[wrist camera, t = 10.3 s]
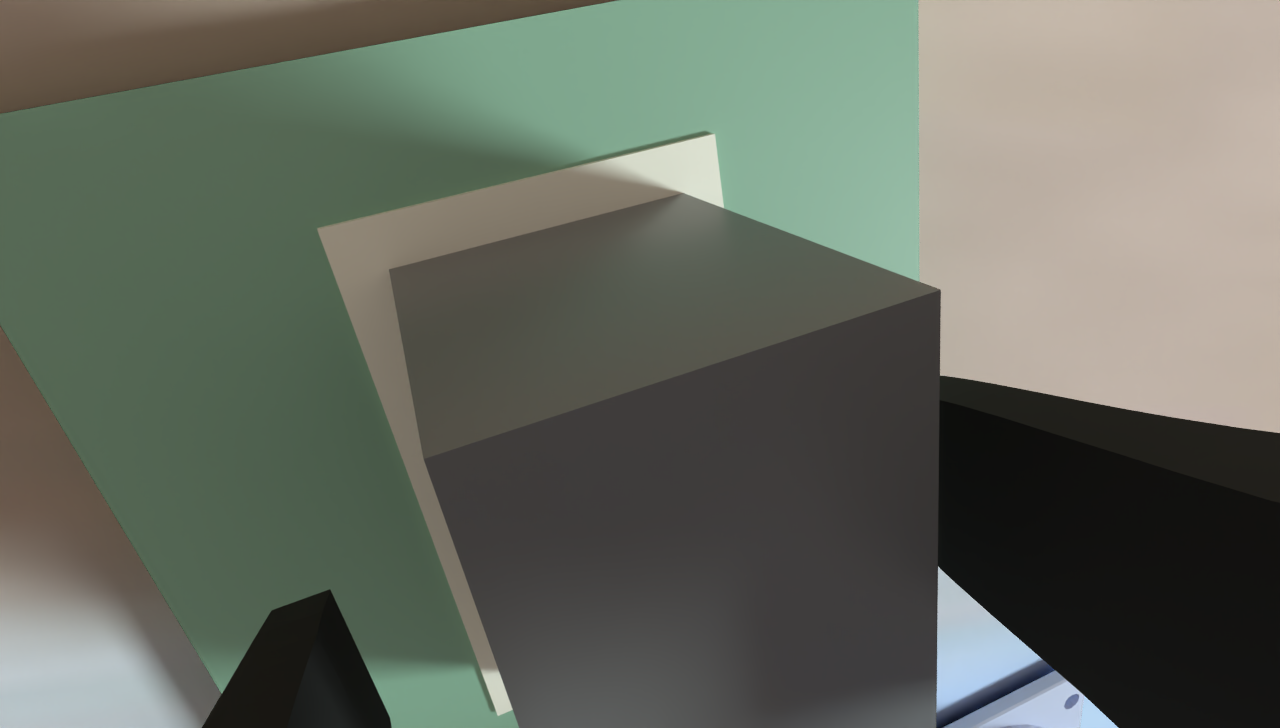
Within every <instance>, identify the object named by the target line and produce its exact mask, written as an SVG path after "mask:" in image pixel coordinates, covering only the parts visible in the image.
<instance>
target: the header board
mask: <svg viewBox="0 0 1280 728" xmlns="http://www.w3.org/2000/svg"><path fill="white" fill-rule="evenodd" d="M681 193H685V194H687V195H690V196H693V197H695V198H698V199H700V200H703V201H706V202H708V203H711V204H714V205H716V206H719V207H722V208H724V209H727V210H730V211H732V212H735V213H738V214H740V215H743V216H746V217H748V218H751V219H754V220H756V221H759V222H762V223H764V224H767V225H770V226H772V227H775V228H778V229H780V230H783V231H786V232H788V233H791V234H794V235H796V236H799V237H802V238H804V239H807V240H809V241H812V242H815V243H817V244H820V245H823V246H825V247H828V248H831V249H833V250H836V251H839V252H841V253H844V254H847V255H849V256H852V257H855V258H857V259H860V260H863V261H865V262H868V263H871V264H873V265H876V266H879V267H881V268H884V269H887V270H889V271H892V272H895V273H897V274H900V275H903V276H905V277H908V278H911V279H913V280H916V281H918V282H919V61H918V0H618V1H612V2H607V3H601V4H596V5H591V6H585V7H580V8H574V9H569V10H563V11H558V12H552V13H547V14H541V15H536V16H531V17H525V18H520V19H514V20H509V21H503V22H498V23H492V24H487V25H482V26H476V27H471V28H465V29H460V30H454V31H449V32H443V33H438V34H432V35H427V36H422V37H416V38H411V39H405V40H400V41H394V42H389V43H383V44H378V45H373V46H367V47H362V48H356V49H351V50H345V51H340V52H334V53H329V54H323V55H318V56H313V57H307V58H302V59H296V60H291V61H285V62H280V63H274V64H269V65H264V66H258V67H253V68H247V69H242V70H236V71H231V72H225V73H220V74H214V75H209V76H204V77H198V78H193V79H187V80H182V81H176V82H171V83H165V84H160V85H155V86H149V87H144V88H138V89H133V90H127V91H122V92H116V93H111V94H105V95H100V96H95V97H89V98H84V99H78V100H73V101H67V102H62V103H56V104H51V105H45V106H40V107H35V108H29V109H24V110H18V111H13V112H7V113H2V114H0V326H1V327H2V329H3V331H4V332H5V334H6V336H7V337H8V339H9V341H10V342H11V344H12V346H13V347H14V349H15V351H16V352H17V354H18V356H19V357H20V359H21V361H22V362H23V364H24V366H25V367H26V369H27V371H28V372H29V374H30V376H31V377H32V379H33V381H34V382H35V384H36V386H37V387H38V389H39V391H40V392H41V394H42V396H43V397H44V399H45V401H46V402H47V404H48V406H49V407H50V409H51V411H52V412H53V414H54V416H55V417H56V419H57V421H58V422H59V424H60V426H61V427H62V429H63V431H64V432H65V434H66V436H67V437H68V439H69V441H70V442H71V444H72V446H73V447H74V449H75V451H76V452H77V454H78V456H79V457H80V459H81V461H82V462H83V464H84V466H85V467H86V469H87V471H88V472H89V474H90V476H91V477H92V479H93V481H94V482H95V484H96V486H97V487H98V489H99V491H100V492H101V494H102V496H103V497H104V499H105V501H106V502H107V504H108V506H109V507H110V509H111V511H112V512H113V514H114V516H115V517H116V519H117V521H118V522H119V524H120V526H121V527H122V529H123V531H124V532H125V534H126V536H127V537H128V539H129V541H130V542H131V544H132V546H133V547H134V549H135V551H136V552H137V554H138V556H139V557H140V559H141V561H142V562H143V564H144V566H145V567H146V569H147V571H148V572H149V574H150V576H151V577H152V579H153V581H154V582H155V584H156V586H157V587H158V589H159V591H160V592H161V594H162V596H163V597H164V599H165V601H166V602H167V604H168V606H169V607H170V609H171V611H172V612H173V614H174V616H175V617H176V619H177V621H178V622H179V624H180V626H181V627H182V629H183V631H184V632H185V634H186V636H187V637H188V639H189V641H190V642H191V644H192V646H193V647H194V649H195V650H196V652H197V654H198V655H199V657H200V659H201V660H202V662H203V664H204V665H205V667H206V669H207V670H208V672H209V674H210V675H211V677H212V679H213V680H214V682H215V684H216V685H217V687H218V689H219V690H220V692H221V694H222V693H223V691H224V689H225V688H226V686H227V684H228V683H229V681H230V679H231V677H232V676H233V674H234V672H235V671H236V669H237V667H238V665H239V664H240V662H241V660H242V659H243V657H244V655H245V654H246V652H247V650H248V648H249V647H250V645H251V643H252V642H253V640H254V638H255V637H256V635H257V633H258V632H259V630H260V628H261V627H262V625H263V623H264V622H265V620H266V619H267V617H268V615H269V614H270V612H271V610H274V609H276V608H279V607H282V606H285V605H288V604H290V603H293V602H296V601H299V600H301V599H304V598H307V597H310V596H312V595H315V594H318V593H321V592H324V591H326V590H329V589H330V590H331V592H332V594H333V596H334V598H335V601H336V603H337V605H338V607H339V609H340V611H341V613H342V616H343V618H344V620H345V622H346V624H347V626H348V628H349V631H350V633H351V635H352V637H353V639H354V641H355V643H356V646H357V648H358V650H359V652H360V654H361V656H362V659H363V661H364V663H365V665H366V667H367V669H368V671H369V674H370V676H371V678H372V680H373V682H374V684H375V686H376V689H377V691H378V693H379V695H380V697H381V699H382V701H383V704H384V706H385V708H386V710H387V712H388V714H389V717H390V720H391V727H392V728H519V726H518V723H517V720H516V718H515V715H514V712H513V709H512V706H511V704H510V701H509V698H508V695H507V692H506V690H505V687H504V684H503V681H502V678H501V675H500V673H499V670H498V667H497V664H496V661H495V659H494V656H493V653H492V650H491V647H490V645H489V642H488V639H487V636H486V633H485V631H484V628H483V625H482V622H481V619H480V616H479V614H478V611H477V608H476V605H475V602H474V600H473V597H472V594H471V591H470V588H469V586H468V583H467V580H466V577H465V574H464V572H463V569H462V566H461V563H460V560H459V557H458V555H457V552H456V549H455V546H454V543H453V541H452V538H451V535H450V532H449V529H448V527H447V524H446V521H445V518H444V515H443V513H442V510H441V507H440V504H439V501H438V498H437V496H436V493H435V490H434V487H433V484H432V482H431V479H430V476H429V473H428V470H427V468H426V465H425V462H424V459H423V454H422V448H421V443H420V437H419V432H418V426H417V421H416V415H415V410H414V405H413V399H412V394H411V388H410V383H409V377H408V372H407V366H406V361H405V355H404V350H403V344H402V339H401V333H400V328H399V323H398V317H397V312H396V306H395V301H394V295H393V290H392V284H391V279H390V273H389V269H392V268H396V267H400V266H404V265H408V264H412V263H416V262H419V261H423V260H427V259H431V258H435V257H439V256H443V255H446V254H450V253H454V252H458V251H462V250H466V249H469V248H473V247H477V246H481V245H485V244H489V243H493V242H496V241H500V240H504V239H508V238H512V237H516V236H520V235H523V234H527V233H531V232H535V231H539V230H543V229H547V228H550V227H554V226H558V225H562V224H566V223H570V222H574V221H577V220H581V219H585V218H589V217H593V216H597V215H600V214H604V213H608V212H612V211H616V210H620V209H624V208H627V207H631V206H635V205H639V204H643V203H647V202H651V201H654V200H658V199H662V198H666V197H670V196H674V195H678V194H681Z"/></svg>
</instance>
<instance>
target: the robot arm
mask: <svg viewBox="0 0 1280 728" xmlns="http://www.w3.org/2000/svg"><path fill="white" fill-rule="evenodd" d="M938 566H939V568H940V569H941V570H942V571H943V572H945V573H946V574H947V575H948V576H949V577H950V578H951V579H952V580H953V581H954V582H955V583H957V584H958V585H959V586H960V587H961V588H962V589H963V590H964V591H965V592H967V593H968V594H969V595H970V596H971V597H972V598H973V599H974V600H976V601H977V602H978V603H979V604H980V605H981V606H982V607H983V608H985V609H986V610H987V611H988V612H989V613H990V614H991V615H992V616H994V617H995V618H996V619H997V620H998V621H999V622H1001V623H1002V624H1003V625H1004V626H1005V627H1006V628H1007V629H1009V630H1010V631H1011V632H1012V633H1013V634H1014V635H1015V636H1017V637H1018V638H1019V639H1020V640H1021V641H1022V642H1023V643H1025V644H1026V645H1027V646H1028V647H1029V648H1030V649H1031V650H1033V651H1034V652H1035V653H1036V654H1037V655H1038V656H1040V657H1041V658H1042V659H1043V660H1044V661H1045V662H1046V663H1048V664H1049V665H1050V666H1051V667H1052V668H1053V669H1054V670H1055V671H1053V672H1051V673H1049V674H1047V675H1045V676H1043V677H1041V678H1039V679H1037V680H1035V681H1033V682H1031V683H1029V684H1027V685H1025V686H1023V687H1021V688H1019V689H1017V690H1015V691H1013V692H1012V693H1010V694H1008V695H1006V696H1004V697H1002V698H1000V699H998V700H996V701H994V702H992V703H990V704H988V705H986V706H984V707H982V708H980V709H978V710H976V711H974V712H972V713H970V714H968V715H966V716H964V717H962V718H960V719H959V720H957V721H955V722H953V723H951V724H949V725H947V726H945V727H943V728H1080V724H1081V716H1082V709H1083V702H1084V696H1085V697H1086V698H1088V699H1089V700H1090V701H1091V702H1092V703H1093V704H1094V705H1095V706H1096V707H1097V708H1098V709H1099V710H1100V711H1101V712H1103V713H1104V714H1105V715H1106V716H1107V717H1108V718H1109V719H1110V720H1111V721H1112V722H1113V723H1114V724H1115V725H1116V726H1117V727H1118V728H1280V433H1274V432H1266V431H1258V430H1251V429H1243V428H1236V427H1230V426H1223V425H1217V424H1211V423H1204V422H1198V421H1191V420H1185V419H1179V418H1172V417H1166V416H1160V415H1155V414H1149V413H1143V412H1138V411H1132V410H1127V409H1121V408H1116V407H1110V406H1105V405H1100V404H1095V403H1089V402H1084V401H1079V400H1074V399H1069V398H1064V397H1059V396H1053V395H1048V394H1043V393H1038V392H1033V391H1028V390H1023V389H1018V388H1012V387H1007V386H1002V385H997V384H991V383H985V382H980V381H974V380H968V379H961V378H955V377H947V376H940V397H939V496H938ZM202 728H392V727H391V720H390V717H389V714H388V712H387V710H386V708H385V706H384V704H383V701H382V699H381V697H380V695H379V693H378V691H377V689H376V686H375V684H374V682H373V680H372V678H371V676H370V674H369V671H368V669H367V667H366V665H365V663H364V661H363V659H362V656H361V654H360V652H359V650H358V648H357V646H356V643H355V641H354V639H353V637H352V635H351V633H350V631H349V628H348V626H347V624H346V622H345V620H344V618H343V616H342V613H341V611H340V609H339V607H338V605H337V603H336V601H335V598H334V596H333V594H332V592H331V590H330V589H329V590H326V591H324V592H321V593H318V594H315V595H312V596H310V597H307V598H304V599H301V600H299V601H296V602H293V603H290V604H288V605H285V606H282V607H279V608H276V609H274V610H271V612H270V614H269V615H268V617H267V619H266V620H265V622H264V623H263V625H262V627H261V628H260V630H259V632H258V633H257V635H256V637H255V638H254V640H253V642H252V643H251V645H250V647H249V648H248V650H247V652H246V654H245V655H244V657H243V659H242V660H241V662H240V664H239V665H238V667H237V669H236V671H235V672H234V674H233V676H232V677H231V679H230V681H229V683H228V684H227V686H226V688H225V689H224V691H223V693H222V694H221V696H220V698H219V700H218V701H217V703H216V705H215V706H214V708H213V710H212V711H211V713H210V715H209V717H208V718H207V720H206V722H205V723H204V725H203V727H202Z"/></svg>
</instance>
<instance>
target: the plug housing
mask: <svg viewBox="0 0 1280 728" xmlns="http://www.w3.org/2000/svg"><path fill="white" fill-rule="evenodd" d="M389 273H390V279H391V284H392V290H393V295H394V301H395V306H396V312H397V317H398V323H399V328H400V333H401V339H402V344H403V350H404V355H405V361H406V366H407V372H408V377H409V383H410V388H411V394H412V399H413V405H414V410H415V415H416V421H417V426H418V432H419V437H420V443H421V448H422V454H423V459H424V462H425V465H426V468H427V470H428V473H429V476H430V479H431V482H432V484H433V487H434V490H435V493H436V496H437V498H438V501H439V504H440V507H441V510H442V513H443V515H444V518H445V521H446V524H447V527H448V529H449V532H450V535H451V538H452V541H453V543H454V546H455V549H456V552H457V555H458V557H459V560H460V563H461V566H462V569H463V572H464V574H465V577H466V580H467V583H468V586H469V588H470V591H471V594H472V597H473V600H474V602H475V605H476V608H477V611H478V614H479V616H480V619H481V622H482V625H483V628H484V631H485V633H486V636H487V639H488V642H489V645H490V647H491V650H492V653H493V656H494V659H495V661H496V664H497V667H498V670H499V673H500V675H501V678H502V681H503V684H504V687H505V690H506V692H507V695H508V698H509V701H510V704H511V706H512V709H513V712H514V715H515V718H516V720H517V723H518V726H519V728H936V693H937V595H938V496H939V397H940V298H941V290H940V289H937V288H934V287H932V286H929V285H926V284H924V283H921V282H918V281H916V280H913V279H911V278H908V277H905V276H903V275H900V274H897V273H895V272H892V271H889V270H887V269H884V268H881V267H879V266H876V265H873V264H871V263H868V262H865V261H863V260H860V259H857V258H855V257H852V256H849V255H847V254H844V253H841V252H839V251H836V250H833V249H831V248H828V247H825V246H823V245H820V244H817V243H815V242H812V241H809V240H807V239H804V238H802V237H799V236H796V235H794V234H791V233H788V232H786V231H783V230H780V229H778V228H775V227H772V226H770V225H767V224H764V223H762V222H759V221H756V220H754V219H751V218H748V217H746V216H743V215H740V214H738V213H735V212H732V211H730V210H727V209H724V208H722V207H719V206H716V205H714V204H711V203H708V202H706V201H703V200H700V199H698V198H695V197H693V196H690V195H687V194H685V193H681V194H678V195H674V196H670V197H666V198H662V199H658V200H654V201H651V202H647V203H643V204H639V205H635V206H631V207H627V208H624V209H620V210H616V211H612V212H608V213H604V214H600V215H597V216H593V217H589V218H585V219H581V220H577V221H574V222H570V223H566V224H562V225H558V226H554V227H550V228H547V229H543V230H539V231H535V232H531V233H527V234H523V235H520V236H516V237H512V238H508V239H504V240H500V241H496V242H493V243H489V244H485V245H481V246H477V247H473V248H469V249H466V250H462V251H458V252H454V253H450V254H446V255H443V256H439V257H435V258H431V259H427V260H423V261H419V262H416V263H412V264H408V265H404V266H400V267H396V268H392V269H389Z"/></svg>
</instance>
